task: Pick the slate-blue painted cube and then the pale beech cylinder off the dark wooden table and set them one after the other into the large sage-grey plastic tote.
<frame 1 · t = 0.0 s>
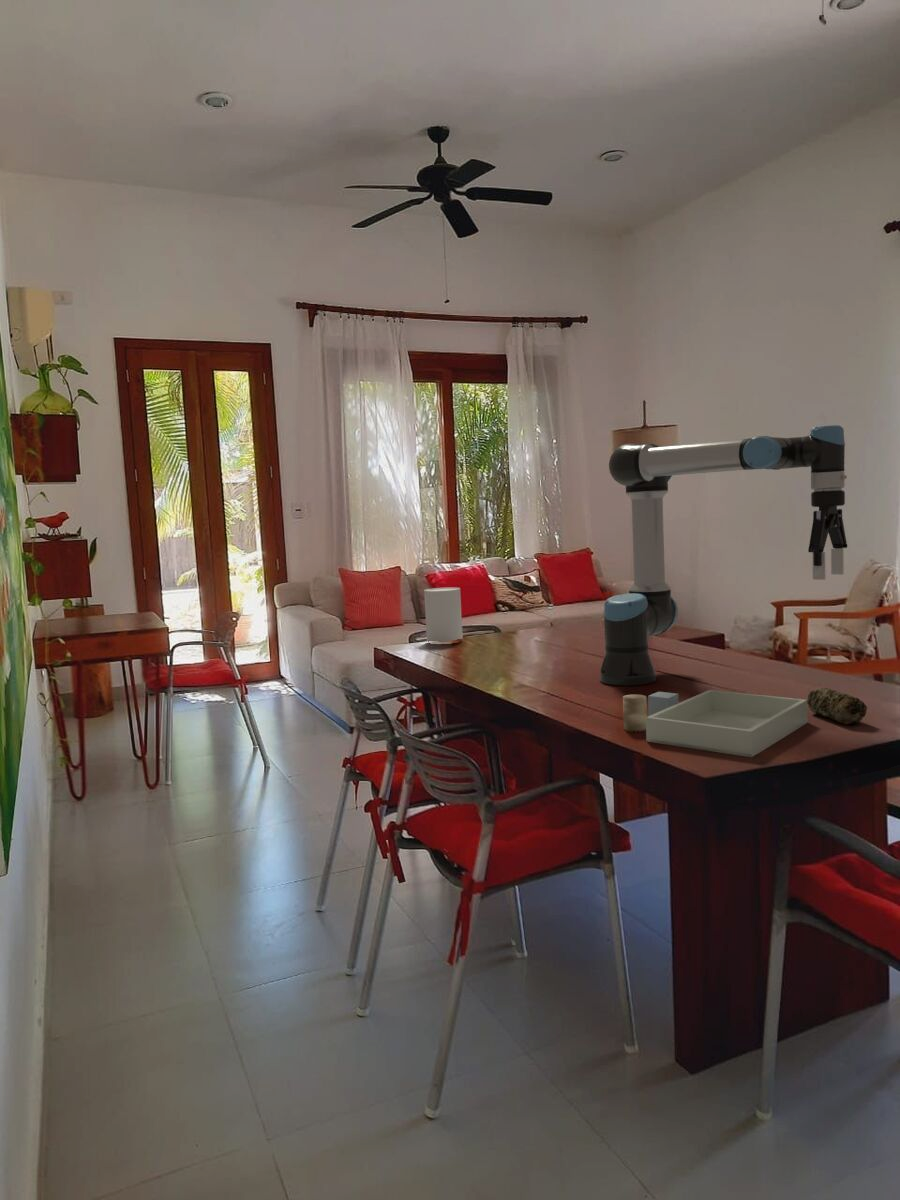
hand: (828, 577, 213), 28 cm above the table, fingers open, 13 cm apart
beech cylinder: (635, 728, 188), on the table
slate cube: (663, 716, 198), on the table
tote: (728, 731, 181), on the table
canister: (444, 642, 326), on the table
coral: (836, 720, 187), on the table
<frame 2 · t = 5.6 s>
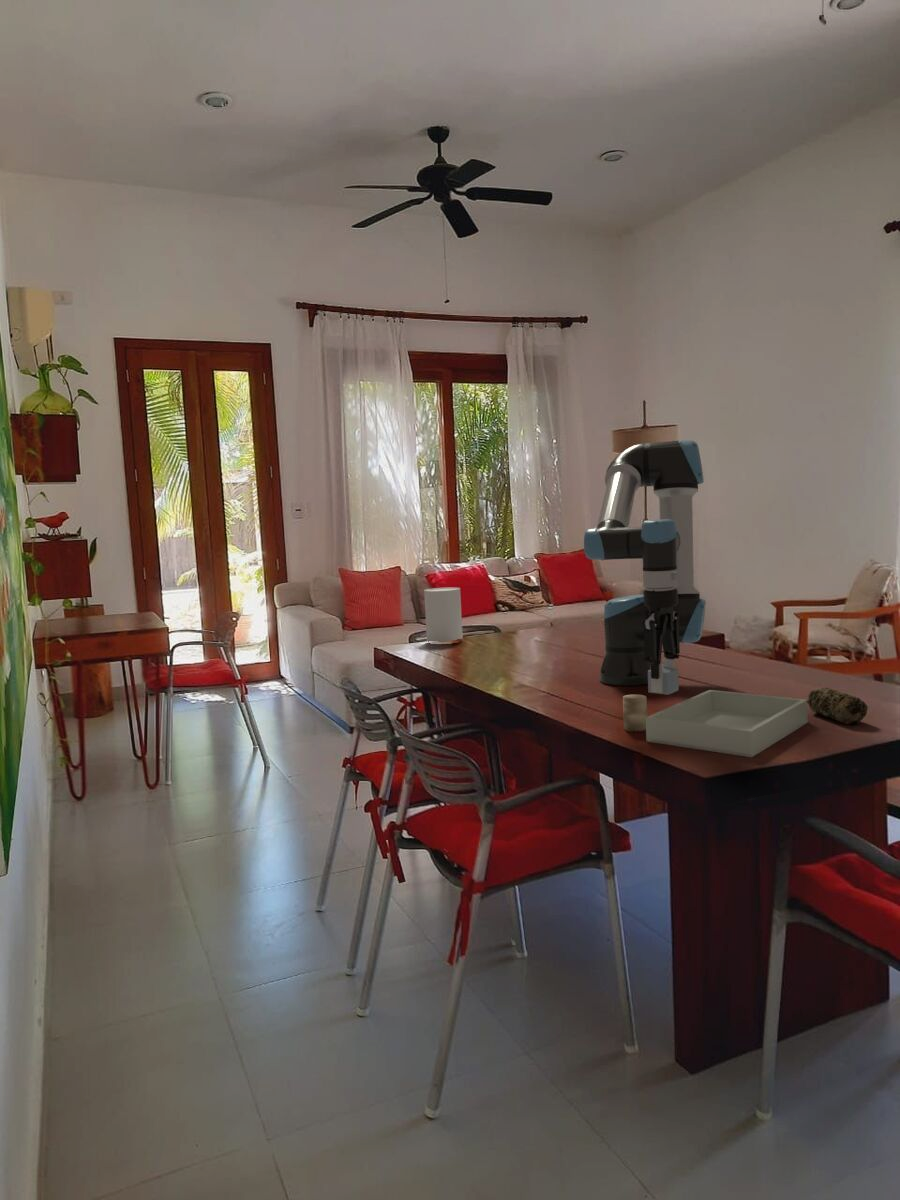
hand: (663, 689, 198), 6 cm above the table, fingers closed on slate cube, 5 cm apart
slate cube: (663, 691, 198), point 6 cm above the table, touching gripper
everything else where it was.
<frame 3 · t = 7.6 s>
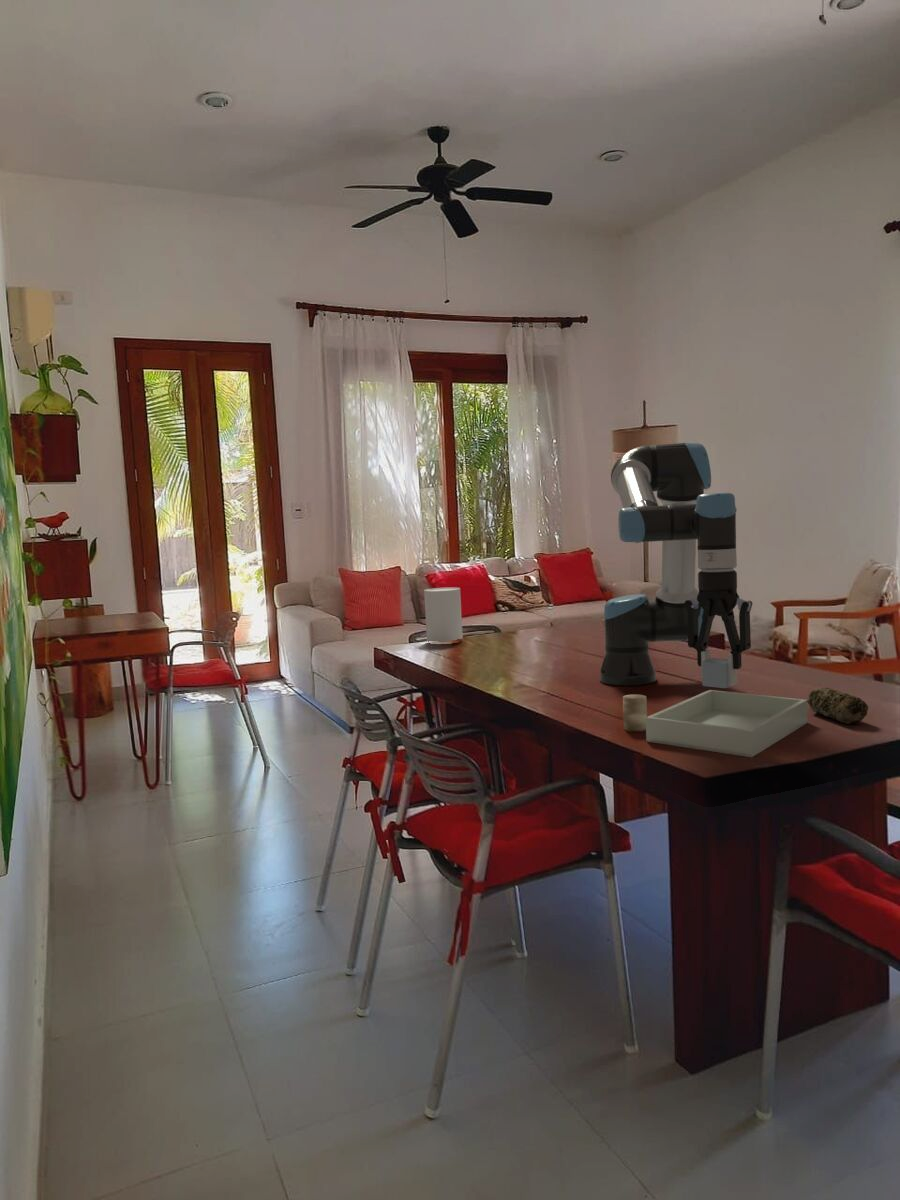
hand: (719, 683, 177), 11 cm above the table, fingers closed on slate cube, 5 cm apart
slate cube: (719, 684, 177), point 11 cm above the table, touching gripper
everything else where it was.
when the fingers open (1 cm above the table, at t = 9.6 s): slate cube stays where it is, resting on tote.
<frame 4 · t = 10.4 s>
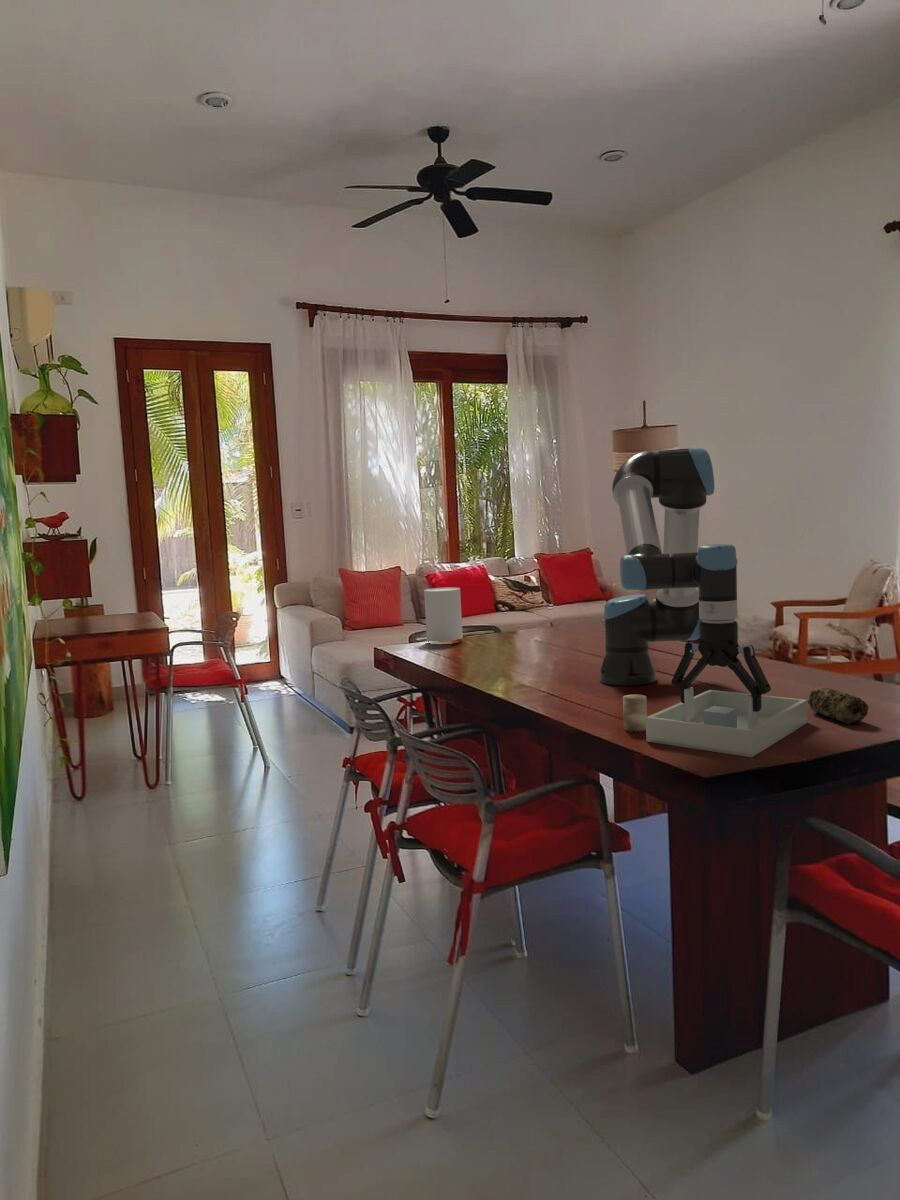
hand: (720, 722, 178), 3 cm above the table, fingers open, 13 cm apart
slate cube: (720, 733, 178), point 1 cm above the table, touching tote
everything else where it was.
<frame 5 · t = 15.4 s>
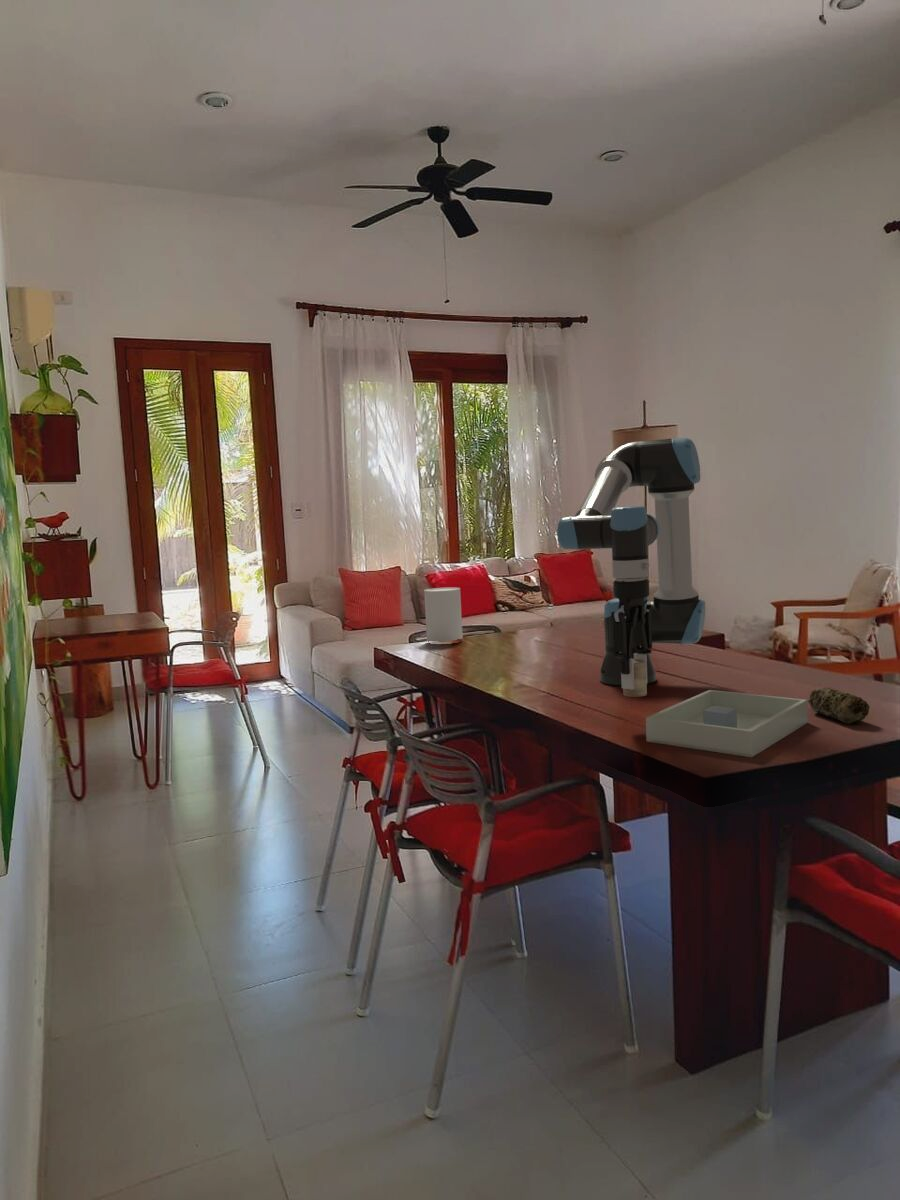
hand: (634, 685, 187), 9 cm above the table, fingers closed on beech cylinder, 5 cm apart
beech cylinder: (635, 694, 188), point 7 cm above the table, touching gripper
everything else where it was.
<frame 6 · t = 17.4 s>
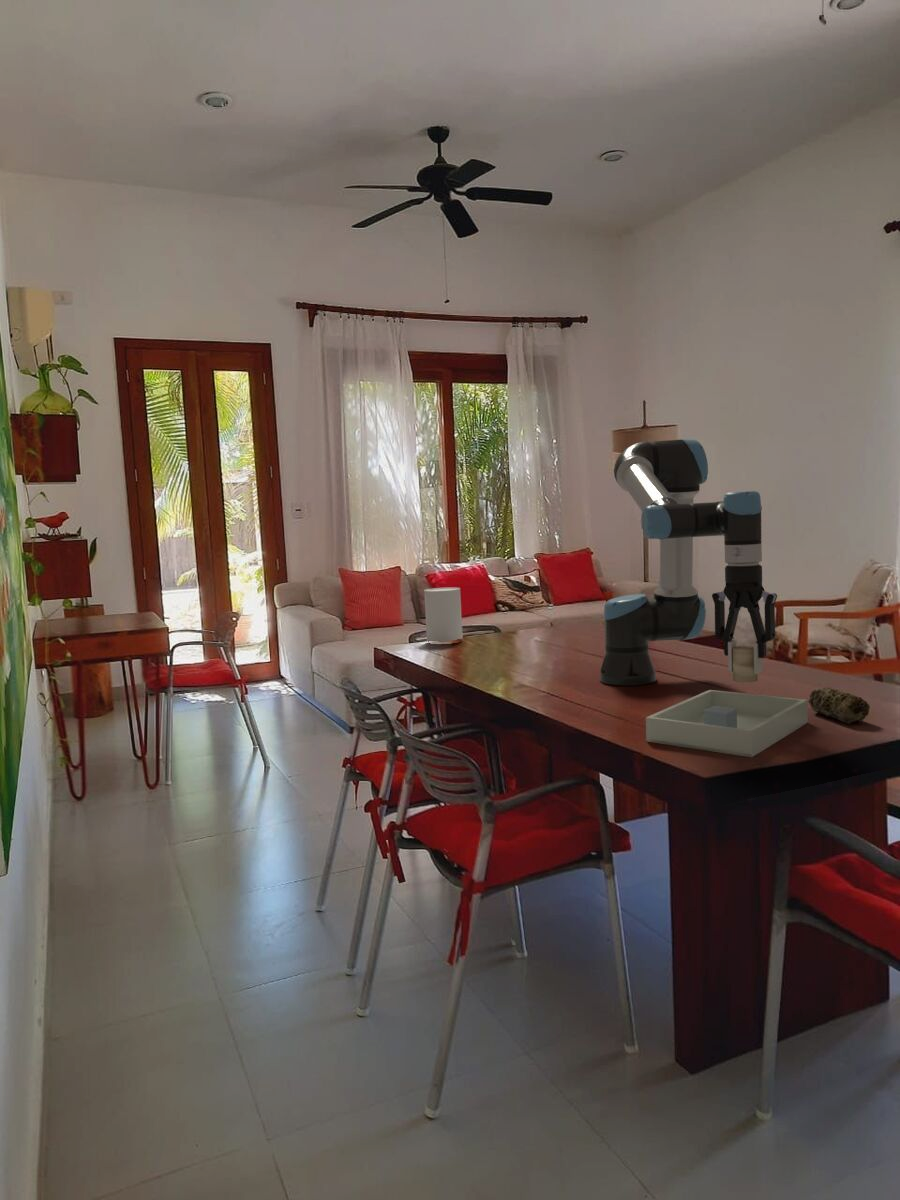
hand: (745, 671, 187), 11 cm above the table, fingers closed on beech cylinder, 5 cm apart
beech cylinder: (745, 680, 187), point 9 cm above the table, touching gripper
everything else where it was.
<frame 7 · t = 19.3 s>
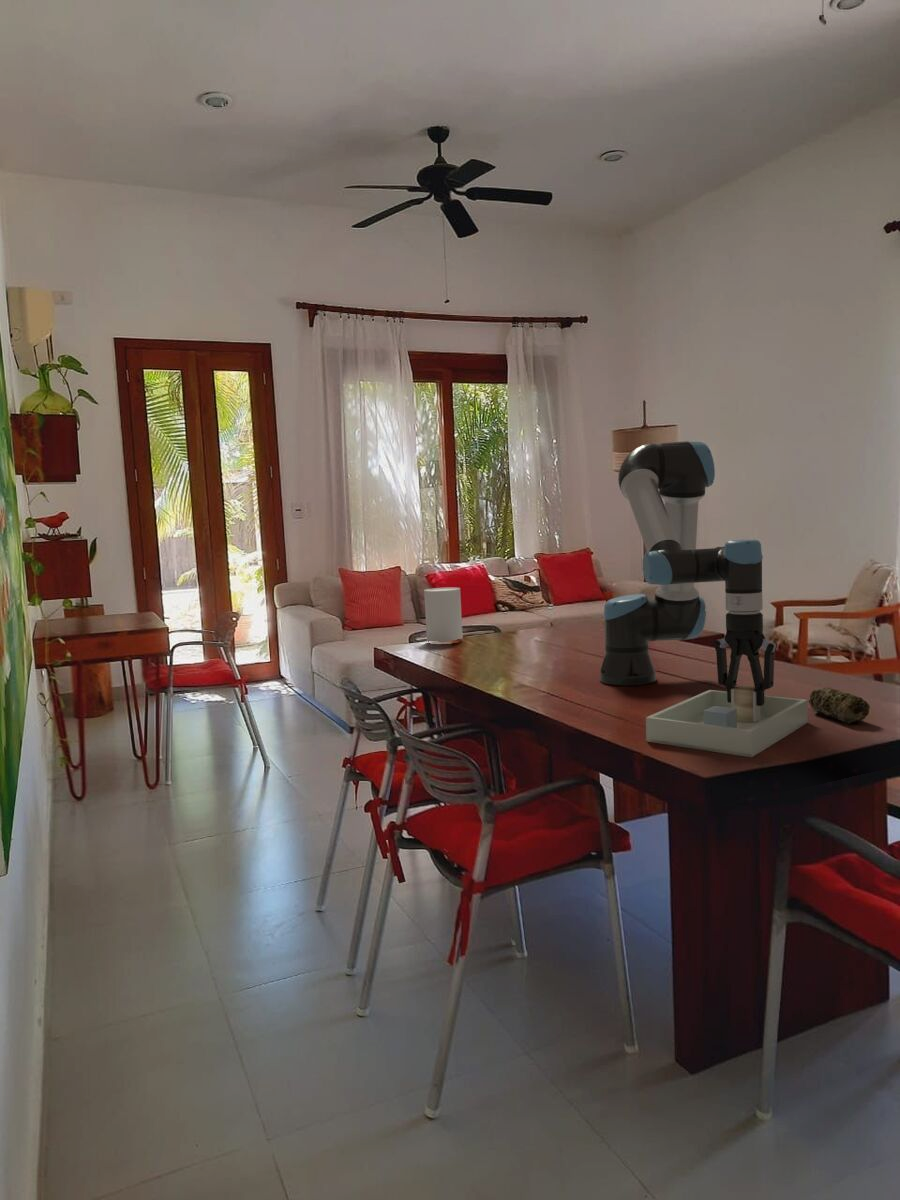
hand: (745, 718, 188), 1 cm above the table, fingers closed on beech cylinder, tote, 4 cm apart
beech cylinder: (746, 719, 188), point 1 cm above the table, touching gripper
everything else where it was.
when the fingers open (1 cm above the table, at t = 19.4 s): beech cylinder stays where it is, resting on tote.
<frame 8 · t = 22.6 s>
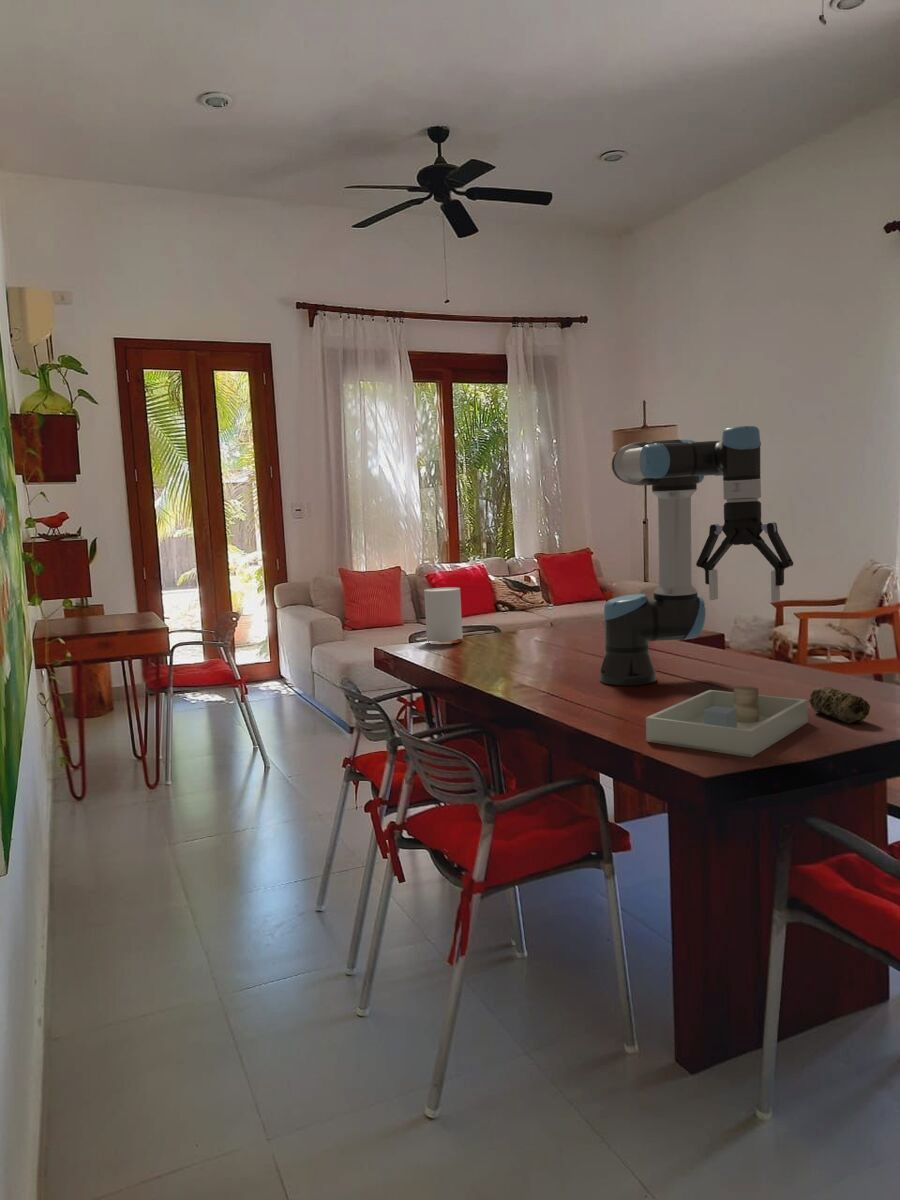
hand: (743, 600, 185), 27 cm above the table, fingers open, 13 cm apart
beech cylinder: (746, 719, 188), point 1 cm above the table, touching tote
at the end: slate cube inside the target area on the tote (4.1 cm from its centre), point 0.6 cm above the tote's base; beech cylinder inside the target area on the tote (9.0 cm from its centre), point 0.6 cm above the tote's base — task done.
